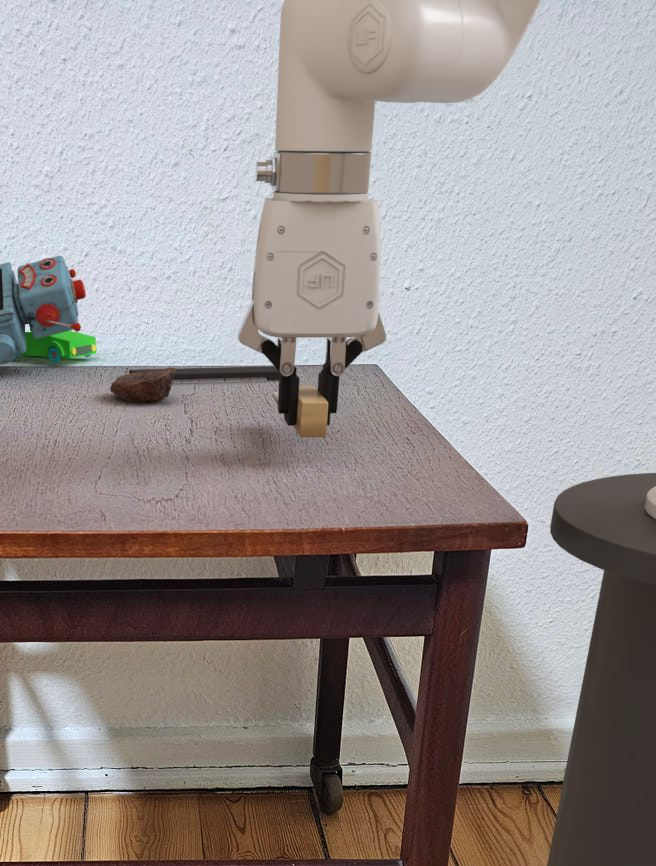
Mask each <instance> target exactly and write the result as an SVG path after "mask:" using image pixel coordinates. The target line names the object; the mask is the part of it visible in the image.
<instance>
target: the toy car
mask: <svg viewBox="0 0 656 866" xmlns="http://www.w3.org/2000/svg"><path fill="white" fill-rule="evenodd" d="M72 331H73V330H71V331H66V332H62V333H58V334H54V335H50V336H46V337H42V338H38V339H36V338H34V337H33V335H32V332H26V352H25V353H22V354H18V355H15V357H14V359H13V360H16V359H17V358H18V356H30V357H44V358H48V359H49V360H50V361H51V362H52V363H58V362H59V361H60V360H61V359H74V358H81V357H85V358H90V357H91V356H93V355H96V354H97V351H98V348H97V339H96V338H97V337H96V336H93V335H90V334H86V333H82V332H79V331H78V332H77V331H74V332H72Z"/></svg>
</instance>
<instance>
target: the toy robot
mask: <svg viewBox="0 0 656 866" xmlns="http://www.w3.org/2000/svg"><path fill="white" fill-rule="evenodd" d="M65 261H66V260H65V258H64V257H63V256H62V255H57V256H53V257H48V258H44V259H42V260H38V261H34V262H33V261H32V262H30V263H26V264H22V265H19V266H18V267H17V278H16V274H15V272H14V271H13V268H12V266H13V265H12V264H11V262H10V261H8V262H4V263H0V366H1V365H7V364H9V363H11V362H12V361H13V360H15V359H14V357H15V355H18V354H22V353H25V352H26V332H25V327H26V324H29V327H30V331H31V332H32V335H33V337H34V338H36V339H38V338H42V337H46V336H50V335H54V334H58V333H62V332H66V331H70V330H71V331H74V332H78V333H79V332H80V331H81V330H82V326H81V324H80V323H79V307H78V301H79V300H83V299H86V297H87V295H86V294H87V293H86V288H85V285H84V282H83V280H82V279H76V280H73V279H74V278H75V277H76V276H77V272H76V270H75V269H74V268H71V269H69V266H67V264H66V262H65ZM18 356H19V355H18Z"/></svg>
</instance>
